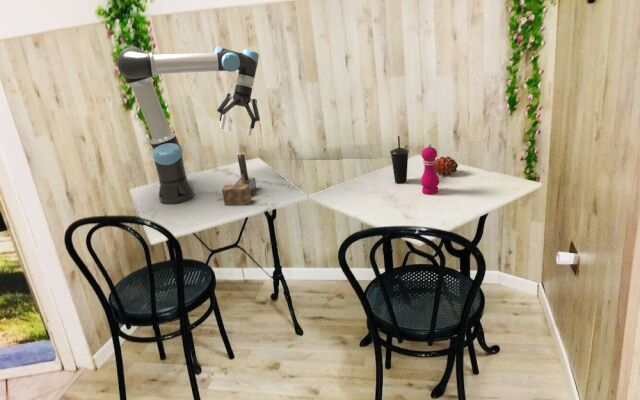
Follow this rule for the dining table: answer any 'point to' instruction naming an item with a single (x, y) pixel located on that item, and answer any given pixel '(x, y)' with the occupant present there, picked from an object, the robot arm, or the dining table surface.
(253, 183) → the channel
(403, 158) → the drinking cup
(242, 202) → the socket block
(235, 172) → the dining table surface
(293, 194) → the dining table surface
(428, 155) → the pepper mill
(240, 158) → the mallet
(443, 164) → the pine cone
